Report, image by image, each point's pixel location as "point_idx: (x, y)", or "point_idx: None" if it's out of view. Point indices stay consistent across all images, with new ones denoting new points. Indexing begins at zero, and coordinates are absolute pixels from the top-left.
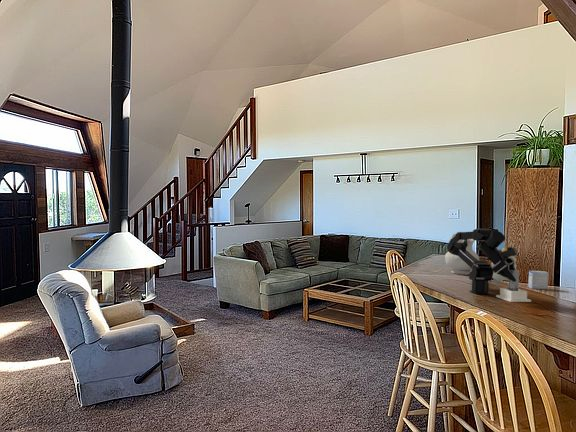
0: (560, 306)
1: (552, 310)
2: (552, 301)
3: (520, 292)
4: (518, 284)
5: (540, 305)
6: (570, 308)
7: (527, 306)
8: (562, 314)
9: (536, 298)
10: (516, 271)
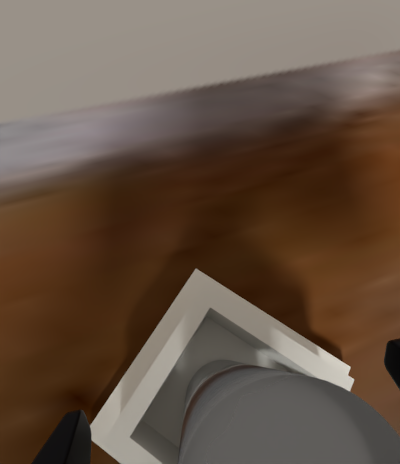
0: (180, 130)
1: (326, 127)
2: (56, 193)
3: (263, 322)
4: (233, 363)
5: (257, 199)
6: (188, 92)
7: (364, 235)
8: (366, 83)
9: (24, 293)
10: (367, 404)
